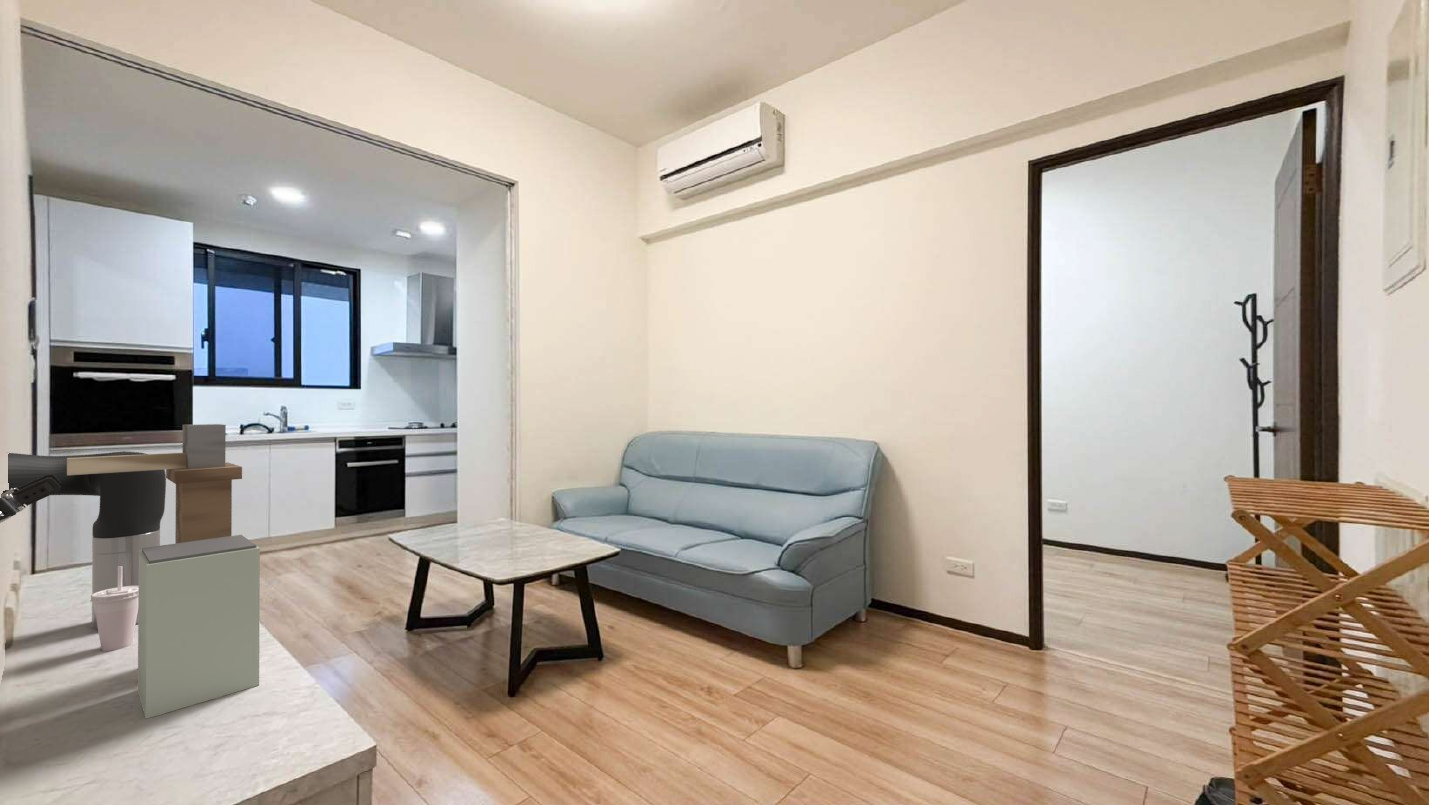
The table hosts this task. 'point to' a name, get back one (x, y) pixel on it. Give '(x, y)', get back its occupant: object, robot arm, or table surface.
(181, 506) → the wooden t-shaped stand
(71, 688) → the table surface
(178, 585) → the sage cabinet
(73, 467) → the hammer
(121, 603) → the smoothie
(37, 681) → the table surface
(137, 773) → the table surface
